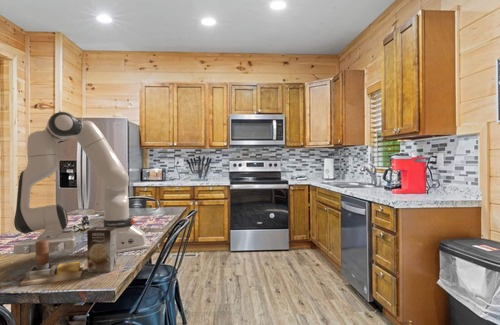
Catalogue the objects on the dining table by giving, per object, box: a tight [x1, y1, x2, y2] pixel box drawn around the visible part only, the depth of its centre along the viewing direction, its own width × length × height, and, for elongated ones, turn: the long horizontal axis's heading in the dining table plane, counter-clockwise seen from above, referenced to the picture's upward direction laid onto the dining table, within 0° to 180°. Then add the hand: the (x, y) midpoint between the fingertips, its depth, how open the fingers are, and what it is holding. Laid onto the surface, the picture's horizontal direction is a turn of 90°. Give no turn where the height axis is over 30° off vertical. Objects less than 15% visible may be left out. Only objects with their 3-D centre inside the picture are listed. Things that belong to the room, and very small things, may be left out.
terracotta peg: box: [35, 240, 50, 271], centre depth 117 cm, size 4×4×12 cm
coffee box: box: [86, 226, 117, 273], centre depth 125 cm, size 9×6×16 cm
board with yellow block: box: [20, 260, 85, 287], centre depth 119 cm, size 18×14×4 cm
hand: (41, 250), depth 117 cm, fingers open, 8 cm apart
